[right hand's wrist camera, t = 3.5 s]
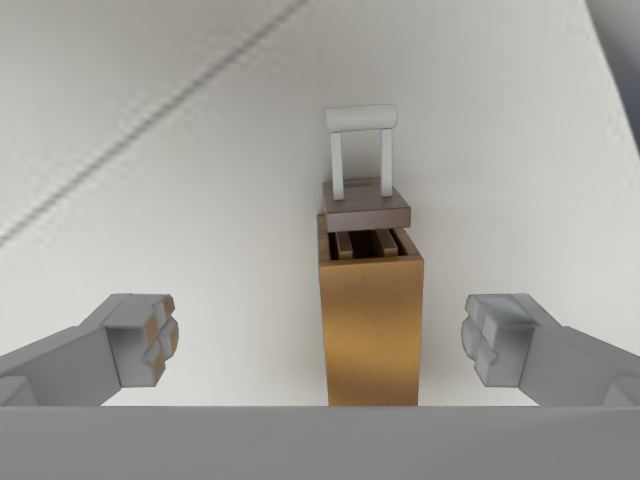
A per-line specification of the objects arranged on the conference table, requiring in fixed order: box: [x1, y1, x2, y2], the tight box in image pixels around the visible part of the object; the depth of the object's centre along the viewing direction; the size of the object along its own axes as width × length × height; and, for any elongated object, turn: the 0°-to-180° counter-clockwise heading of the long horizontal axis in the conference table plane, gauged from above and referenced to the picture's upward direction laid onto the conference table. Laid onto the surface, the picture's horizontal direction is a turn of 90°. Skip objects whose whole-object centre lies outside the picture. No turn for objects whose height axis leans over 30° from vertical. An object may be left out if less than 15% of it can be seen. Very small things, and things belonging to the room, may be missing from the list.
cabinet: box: [317, 215, 424, 406], centre depth 28 cm, size 18×6×9 cm, turn 4°
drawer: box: [323, 104, 411, 260], centre depth 26 cm, size 22×5×7 cm, turn 4°
